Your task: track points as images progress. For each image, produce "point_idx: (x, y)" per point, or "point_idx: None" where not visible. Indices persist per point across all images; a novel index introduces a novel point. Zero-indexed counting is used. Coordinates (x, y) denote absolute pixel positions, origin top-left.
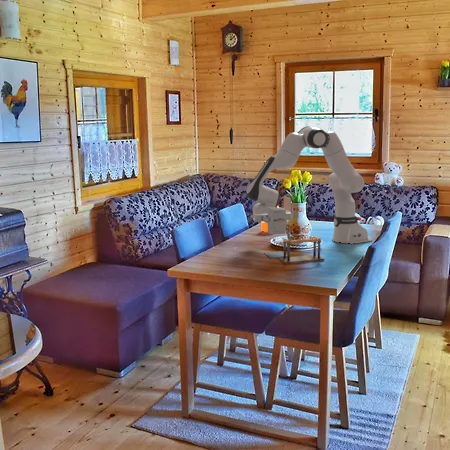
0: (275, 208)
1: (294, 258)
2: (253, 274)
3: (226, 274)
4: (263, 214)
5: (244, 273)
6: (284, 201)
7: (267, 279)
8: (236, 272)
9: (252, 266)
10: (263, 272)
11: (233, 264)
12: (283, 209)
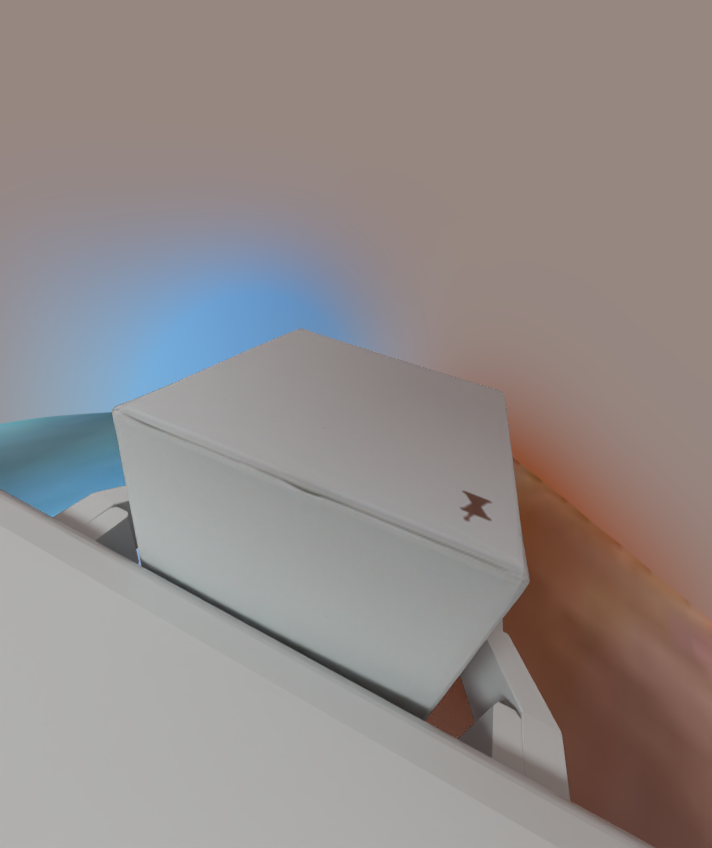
0: (385, 407)
1: None
2: (571, 547)
3: (696, 625)
4: (559, 837)
5: (607, 580)
6: None
7: (535, 488)
8: (646, 616)
9: (551, 638)
10: (526, 537)
11: (676, 783)
12: (323, 340)
